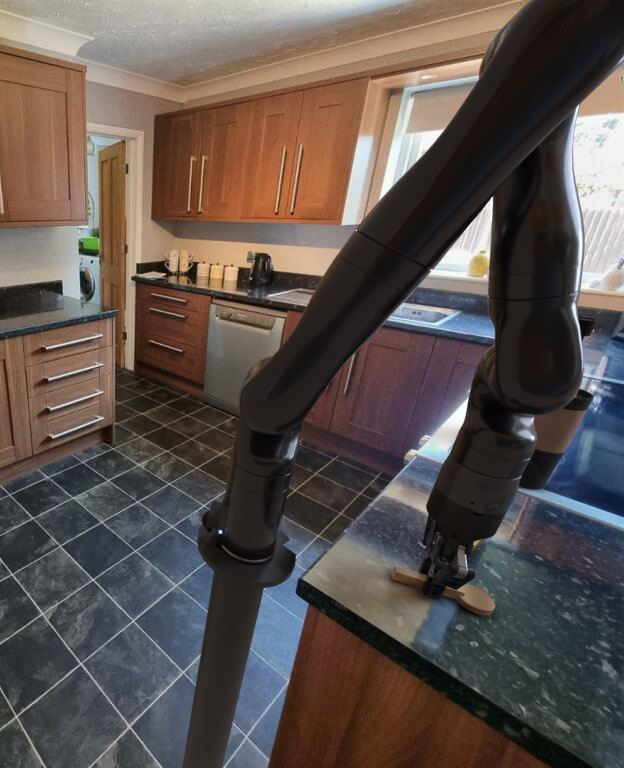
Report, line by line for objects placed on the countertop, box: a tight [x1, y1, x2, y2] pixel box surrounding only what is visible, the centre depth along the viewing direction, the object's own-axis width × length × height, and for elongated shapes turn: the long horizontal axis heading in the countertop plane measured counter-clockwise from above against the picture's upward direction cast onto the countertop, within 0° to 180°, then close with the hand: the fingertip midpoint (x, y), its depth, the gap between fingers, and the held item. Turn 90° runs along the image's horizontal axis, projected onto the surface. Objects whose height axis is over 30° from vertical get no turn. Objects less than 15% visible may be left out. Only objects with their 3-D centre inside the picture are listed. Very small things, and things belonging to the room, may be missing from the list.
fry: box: [473, 539, 483, 551], centre depth 69 cm, size 7×2×2 cm, turn 125°
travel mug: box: [518, 388, 594, 490], centre depth 82 cm, size 8×8×20 cm
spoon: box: [391, 565, 496, 616], centre depth 61 cm, size 12×4×2 cm, turn 65°
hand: (428, 587), depth 61 cm, fingers closed
